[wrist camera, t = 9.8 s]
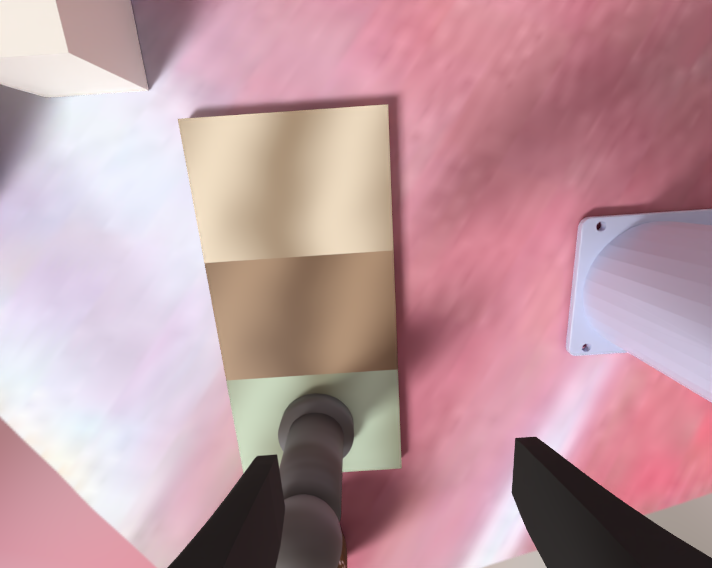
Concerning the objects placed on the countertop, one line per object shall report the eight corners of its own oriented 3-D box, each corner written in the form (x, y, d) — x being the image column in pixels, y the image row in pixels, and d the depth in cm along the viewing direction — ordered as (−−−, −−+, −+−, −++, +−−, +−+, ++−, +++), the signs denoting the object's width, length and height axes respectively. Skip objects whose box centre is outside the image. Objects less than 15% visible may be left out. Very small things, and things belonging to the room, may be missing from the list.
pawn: (355, 453, 22) (358, 628, 13) (285, 457, 22) (241, 634, 13) (351, 391, 21) (351, 539, 12) (277, 395, 21) (223, 546, 12)
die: (123, -34, 16) (20, -133, 11) (148, 90, 17) (66, 51, 12) (12, -26, 16) (-141, -122, 11) (46, 97, 17) (-77, 62, 12)
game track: (386, 108, 17) (387, 104, 17) (399, 458, 23) (401, 468, 22) (185, 122, 17) (177, 118, 17) (248, 468, 23) (244, 478, 22)
